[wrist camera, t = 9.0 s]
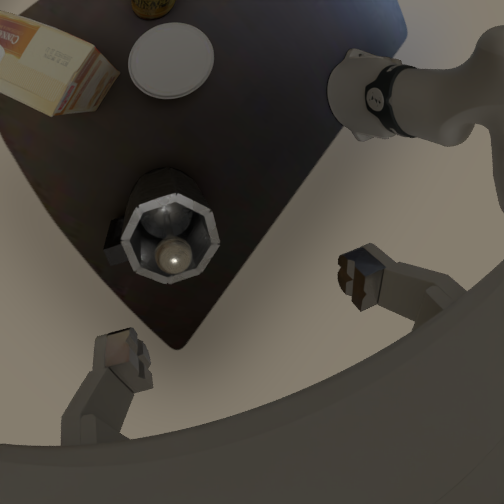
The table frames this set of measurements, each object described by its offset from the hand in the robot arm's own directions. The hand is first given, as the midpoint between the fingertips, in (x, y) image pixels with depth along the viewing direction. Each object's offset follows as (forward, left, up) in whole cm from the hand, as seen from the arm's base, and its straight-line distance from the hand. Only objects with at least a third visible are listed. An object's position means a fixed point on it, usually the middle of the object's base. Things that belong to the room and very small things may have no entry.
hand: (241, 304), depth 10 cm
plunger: (+3, +8, -31) cm, 32 cm away
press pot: (+5, +8, -35) cm, 37 cm away
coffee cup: (-2, -12, -36) cm, 38 cm away
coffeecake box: (+12, -17, -36) cm, 41 cm away
